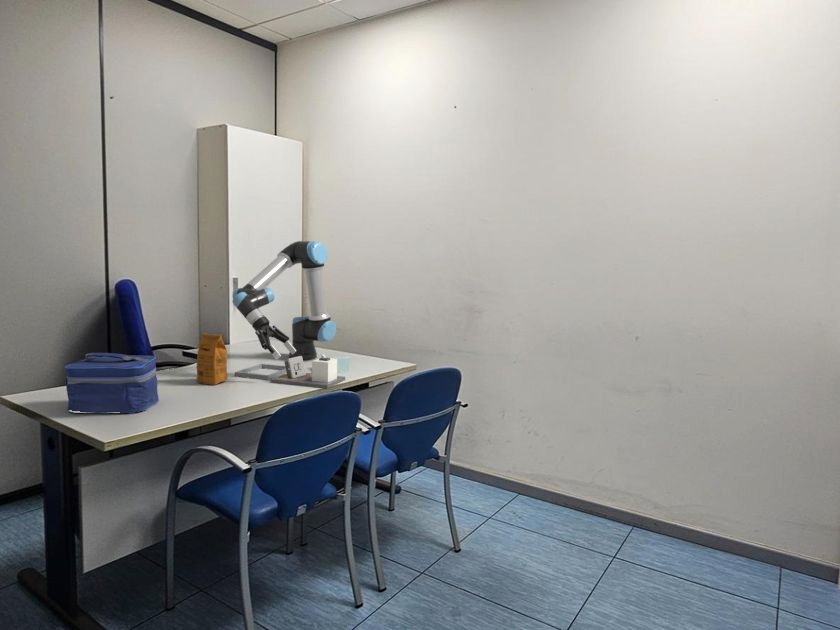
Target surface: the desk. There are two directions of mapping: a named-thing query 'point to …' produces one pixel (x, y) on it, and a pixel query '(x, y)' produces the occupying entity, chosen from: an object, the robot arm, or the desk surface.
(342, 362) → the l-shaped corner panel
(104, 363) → the lunch bag
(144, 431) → the desk surface
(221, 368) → the coffee package
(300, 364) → the electrical switch
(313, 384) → the power dock
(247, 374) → the tray frame
